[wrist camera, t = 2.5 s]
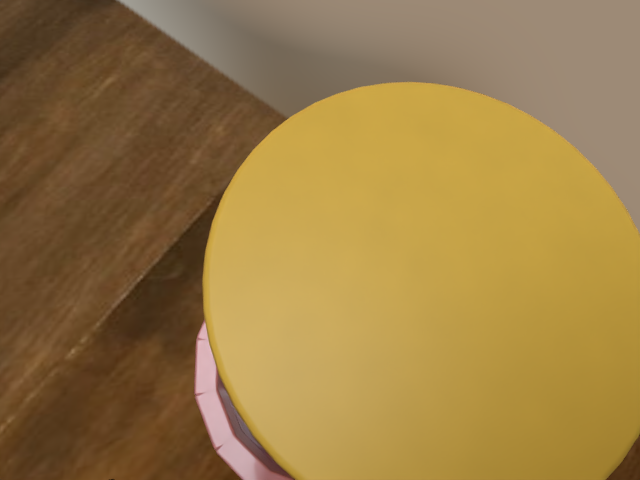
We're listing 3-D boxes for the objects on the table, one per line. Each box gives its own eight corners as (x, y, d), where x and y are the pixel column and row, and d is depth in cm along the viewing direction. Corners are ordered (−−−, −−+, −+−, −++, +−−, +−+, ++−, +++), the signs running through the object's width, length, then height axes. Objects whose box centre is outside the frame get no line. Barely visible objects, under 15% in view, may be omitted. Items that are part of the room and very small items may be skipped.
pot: (436, 418, 18) (517, 426, 12) (269, 511, 16) (261, 578, 10) (353, 260, 20) (386, 197, 14) (198, 330, 18) (155, 293, 12)
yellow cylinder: (401, 397, 15) (764, 384, 4) (292, 455, 14) (334, 672, 3) (347, 291, 16) (500, 33, 5) (244, 339, 15) (134, 161, 4)
